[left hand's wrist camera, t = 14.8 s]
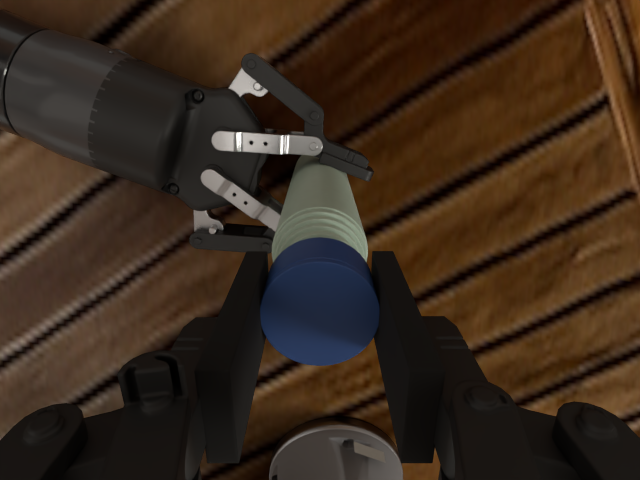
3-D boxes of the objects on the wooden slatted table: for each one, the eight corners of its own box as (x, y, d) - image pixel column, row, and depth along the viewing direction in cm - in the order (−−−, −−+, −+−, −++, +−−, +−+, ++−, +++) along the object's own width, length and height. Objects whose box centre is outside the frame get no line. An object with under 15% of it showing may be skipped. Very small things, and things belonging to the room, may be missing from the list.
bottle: (355, 174, 34) (410, 311, 13) (318, 207, 35) (316, 381, 14) (320, 136, 33) (322, 223, 12) (284, 171, 34) (228, 306, 13)
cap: (283, 223, 14) (277, 246, 12) (387, 253, 14) (398, 281, 12) (256, 314, 15) (246, 349, 13) (352, 340, 16) (356, 377, 14)
